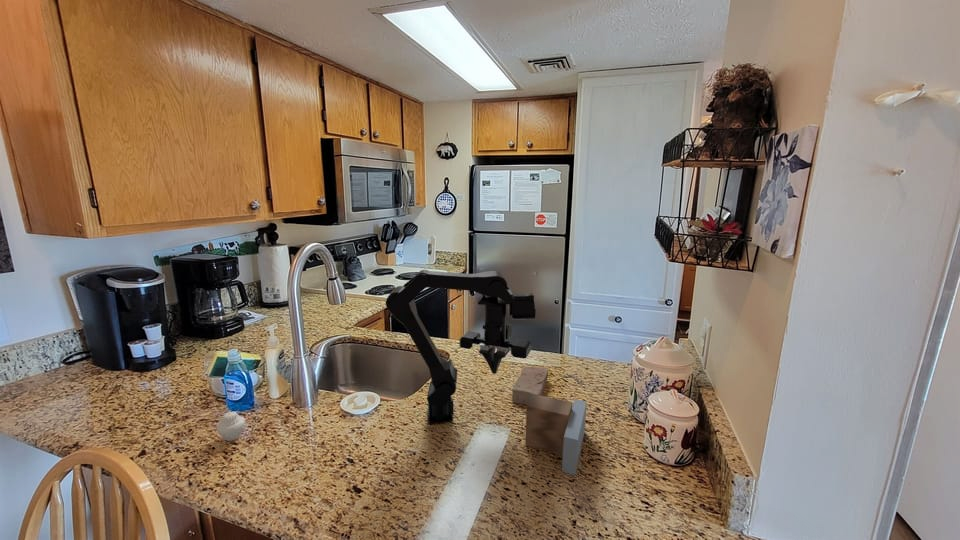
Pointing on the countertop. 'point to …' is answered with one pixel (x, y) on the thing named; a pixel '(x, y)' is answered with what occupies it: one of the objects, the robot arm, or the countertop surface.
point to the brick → (529, 384)
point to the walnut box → (547, 423)
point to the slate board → (574, 437)
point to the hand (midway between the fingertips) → (494, 373)
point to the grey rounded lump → (231, 426)
